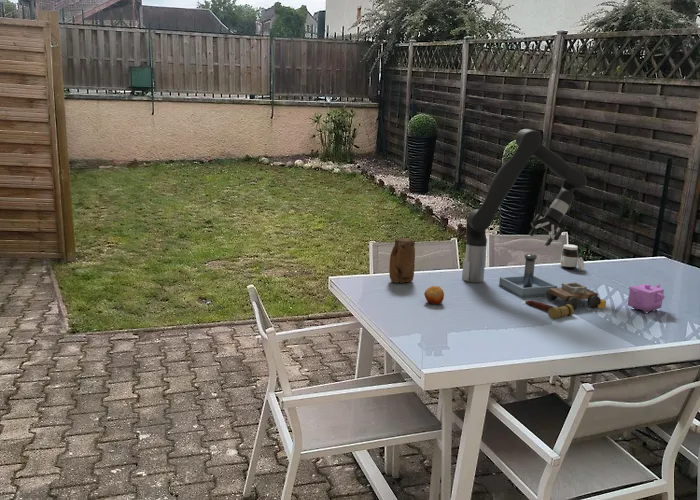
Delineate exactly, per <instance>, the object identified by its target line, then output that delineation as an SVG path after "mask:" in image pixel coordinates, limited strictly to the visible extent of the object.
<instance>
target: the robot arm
mask: <svg viewBox="0 0 700 500" xmlns="http://www.w3.org/2000/svg"><path fill="white" fill-rule="evenodd" d="M515 143H516V145H517V148H516V150H515V152H514V153H513V155H512V156H511V157H510V158H509V159H508V160H507V161H506V162H505V163H504V164H503V165H502V166H501V167H500V168H499V169H498V170H497V172H496V173H495V175H494V177H493V178H492V180H491V182H490V184H489V187H488V190H487V193H486V197H485V199H484V201H483V203H482V204H481V206H480V208H477V209H473V210H471V211H469V213H468V214H467V218H466V224H465V226H466V227H465V229H466V230H465V239H466V245H465V247H466V248H465V256H464V257H465V258H464V259H463V260H462V261H463V262H462V275H461V279H462V280H464V281H466V282H467V283H482V282H484V279H485V269H486V268H485V266H486V257H487V256H486V255H487V243H488V239H487V235H486V234H487V233H486V231H487V230H488V229H489V228H490V225H491V224H492V222H493V219H495V216H496V214H497V212H498V209H499V208H500V207H501V205H502V204H503V201H504V200H505V199H506V197H507V196H508V194H509V193H510V191H511V189H512V188H513V187H514V185H515V184H516V181H517V180H518V178H519V176H521V173H522V172H523V171H524V168H525V167H526V164H527V163H528V162H529V160H530V159H531V158H532V156H534V157H535V158H536V159H538V160H539V161H540V162H542V163H543V164H544V166H546V168H548V169H549V170H550V171H552V172H553V173H554V174H555V175H556V176H558V177H559V178H561V179H564V180H563V182H562V184H561V187H560V191H559V193H558V194H557V195H556V197H555V199H554V200H553V201H552V203H551V204H550V205H549V208H548V209H547V211H546V212H545V214H544V216H542V215H541V214H539V213H537V214H536V215H535V217H534V218H533V220H532V221H531V222H530V226H531V228H532V229H531V230H530V231H529V236H530V237H533V236H534V235H535V233H536V232H537V230H538V229H539V228H542V229H543V230H545V231H546V232H548V235H549V238H548V239H547V240H546V242H545V244H544V246H546V247H547V246H550V245H551V244H552V242H553V241H558V240H559V239H560V237H561V234H562V233H563V231H564V229H563V228H560V227H559V224H560V223H561V221H562V220H563V218H564V216H566V215H565V214H566V213H567V212H568V210H569V207H570V206H571V204H572V203H573V201H574V199H575V194H574V190H575V189H578V190H580V189H583V188H585V186H587V183H588V181H587V176H586V175H585V174H584V173H583V172H582V171H580V170H578V169H577V168H575V167H574V166H572V165H570V164H569V163H568V162H567V161H566V160H564V159H563V157H561V156H560V155H559V154H557V153H555V152H554V151H552V150H551V149H549V148H548V147H546V146H545V145H544V144H543V143H542V135H541V133H540V132H539V131H538V130H534V129H531V128H523V129H520V130H519V131H518V132H517V133H516V135H515ZM539 220H540V223H538V224H537V222H538V221H539ZM555 230H556V234H555Z"/></svg>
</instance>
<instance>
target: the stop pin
mask: <svg viewBox="0 0 700 500" xmlns="http://www.w3.org/2000/svg"><path fill="white" fill-rule="evenodd" d="M537 257H538V255H537V254H533V253H525V254H524V258H525V262H524V272H523V273H524V274H523V276H524V282H523V288H529V287H532V285H533V275H534V273H535V264H536V260H537V259H538V258H537ZM534 276H535V275H534Z"/></svg>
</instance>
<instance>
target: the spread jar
mask: <svg viewBox="0 0 700 500" xmlns="http://www.w3.org/2000/svg"><path fill="white" fill-rule="evenodd" d="M578 248H579V247H578V245H575V244H566V243H565V244H563V248H562V250H561V255H560V256H561V257H560V268H561V267H562V269H563V268H564V269H565V270H571V271H572V270H575V269H577V268H578V270H579V271H580V272H581V271H585V262H584V258H583V257H582V256H581V257H579V252H578Z"/></svg>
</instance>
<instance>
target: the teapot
mask: <svg viewBox="0 0 700 500" xmlns="http://www.w3.org/2000/svg"><path fill="white" fill-rule="evenodd" d="M661 286H662V284H660V283H659V284H657V285H656V286H653V285H651V284H648V283H643V284H637V285H630V286H629V287H628V290H629V293H628V297H627V298H628V299H627V306H628V307H631V308H634V309H637V310H641V311H644V312H649V313H650V312H651V310H656V311H657V309H661V308H662V305H663V301H664V299H665V298H666V297H665V295H664V293H665V289H664V288H661ZM634 309H633V310H634ZM644 312H643V313H644Z"/></svg>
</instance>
